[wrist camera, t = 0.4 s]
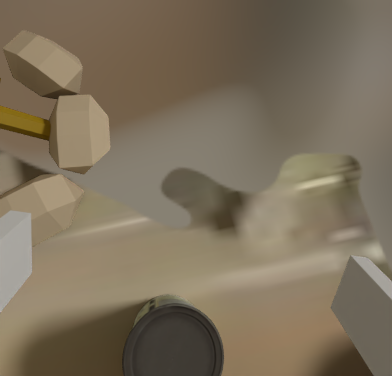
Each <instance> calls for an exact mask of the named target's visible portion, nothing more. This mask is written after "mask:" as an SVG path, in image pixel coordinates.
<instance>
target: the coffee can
mask: <svg viewBox="0 0 392 376" xmlns="http://www.w3.org/2000/svg"><path fill="white" fill-rule="evenodd" d="M223 363H224V352H223V345H222V341H221V337H220V335H219V332H218V330H217V329H216V327H215V325H214V324H213V322H212V321H211V320H210V319H209V318H208V317H207V316H206V315H205V314H204V313H202V312H201V311H200V310H198V309H196V308H195V307H194V306H193V305H192V304H191V303H190V302H189V301H188V300H186V299H184V298H182V297H180V296H176V295H162V296H158V297H156V298H154V299H152V300H150V301H149V302H147V303H146V304H145V305H144V306H143V307H142V308H141V310H140V311H139V313H138V314H137V317H136V319H135V321H134V325H133V329H132V330H131V332H130V334H129V336H128V338H127V340H126V343H125V347H124V351H123V359H122V365H123V375H124V376H221V374H222V370H223Z"/></svg>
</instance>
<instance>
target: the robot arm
mask: <svg viewBox="0 0 392 376" xmlns="http://www.w3.org/2000/svg"><path fill="white" fill-rule="evenodd" d="M31 273H32V240H31V213H27V212H20V211H12V210H10V211H9V212H8V213H6V214H5V215H4V216H2V217H1V218H0V312H1V311H2V310H3V309H4V307H5V306H6V305H7V304H8V302H9V301H10V300H11V299H12V297H13V296H14V295H15V293H16V292H17V291H18V290H19V288H20V287H21V286H22V285H23V283H24V282H25V281H26V280H27V278H28V277H29V276H30V275H31ZM331 309H332V311H333V312H334V314H335V315H336V317H337V319H338V320H339V322H340V323H341V325H342V326H343V328H344V330H345V331H346V333H347V334H348V336H349V338H350V339H351V341H352V342H353V344H354V345H355V347H356V349H357V350H358V352H359V353H360V355H361V357H362V358H363V360H364V361H365V363H366V365H367V366H368V368H369V369H370V371H371V372H372V374H373V376H392V281H391V280H390V279H389V278H388V277H387V276H386V275H385V274H384V273H383V272H382V271H381V270H380V269H379V268H378V267H377V266H376V265H375V264H374V263H373V262H372V261H371V260H370V259H369V258H367V257H359V256H352V255H351V256H350V258H349V261H348V263H347V266H346V269H345V271H344V274H343V276H342V279H341V282H340V284H339V287H338V290H337V292H336V295H335V297H334V300H333V303H332V305H331Z"/></svg>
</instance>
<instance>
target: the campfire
mask: <svg viewBox="0 0 392 376" xmlns="http://www.w3.org/2000/svg"><path fill="white" fill-rule="evenodd" d="M3 50H4V53H5V56H6V59H7V62H8V65H9V67H10V70H11V73H12V76H13V77H14V78H15V79H16V80H18V81H19V82H21V83H22V84H24V85H25V86H27V87H28V88H29V89H31V90H32V91H34V92H35V93H37V94H38V95H40V96H42V97H48V98H53V99H58V100H57V102H56V105H55V107H54V109H53V112H52V114H51V116H50V119H49V120H45V119H42V118H39V117H36V116H32V115H29V114H26V113H23V112H19V111H16V110H13V109H10V108H7V107H3V106H0V128H1V129H5V130H9V131H13V132H17V133H21V134H24V135H29V136H32V137H37V138H40V139H44V140H48V141H49V153H50V155H51V156H52V158H53V159H54V161H55V162H56V164H57V165H58V167H59V168H61V169H65V170H68V171H73V172H76V173H80V174H85V173H86V172H87V171H88V170H89V169H90V168H91V167H92V166H93V165H94V164H95V163H96V162H97V161H98V160H99V159H100V158H101V157H102V156H103V155H105V154H106V153H107V152H108V151H109V150H110V134H109V119H108V116H107V115H106V113H105V112H104V111H103V110H102V109H101V107H100V106H99V105H98V104H97V103H96V101H95V100H94V99H93V98H92V97H91V95H76V94H79V90H80V83H81V76H82V70H83V67H82V65H81V63H80V61H79V59H78V58H77V57H76V56H74V55H73V54H71V53H70V52H68V51H67V50H65V49H64V48H62V47H61V46H59V45H58V44H56V43H55V42H53V41H52V40H49V39H46V38H44V37H41V36H39V35H37V34H34V33H31V32H28V31H25V30H23V31H21V32H20V33H19V34H18V35H17V36H16V37H15V38H14V39H13V40H12V41H11V42H9V43H8V44H7V45H6V46H5V47H4V48H3ZM0 80H1V78H0ZM83 194H84V190H82V189H81V188H80V187H78V186H77V185H75V184H74V183H73V182H71V181H70V180H69V179H67V178H66V177H65V176H63V175H62V174H42V175H40V176H38V177H36V178H34V179H32V180H30V181H28V182H26V183H24V184H22V185H20V186H18V187H16V188H14V189H12V190H10V191H8V192H6V193H4V194H3V195H1V196H0V218H1V217H2V216H4V215H5V214H6V213H8V212H9V211H10V210H12V211H20V212H27V213H31V240H32V247H34V246H36V245H37V244H39V243H41V242H43V241H45V240H46V239H48V238H50V237H52V236H54V235H56V234H57V233H59V232H61V231H63V230H65V229H66V228H68V227H70V226H71V223H72V221H73V218H74V216H75V213H76V211H77V208H78V206H79V204H80V201H81V199H82V196H83Z"/></svg>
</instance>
